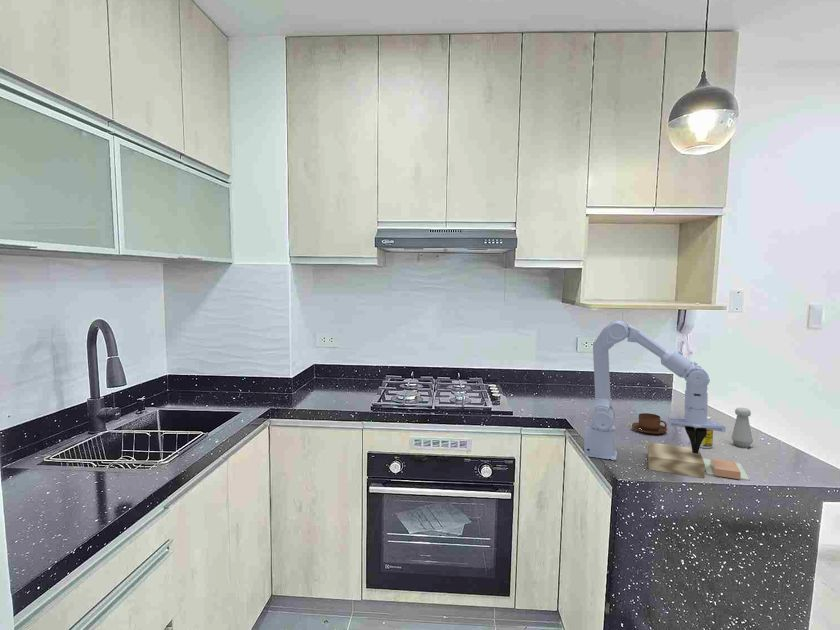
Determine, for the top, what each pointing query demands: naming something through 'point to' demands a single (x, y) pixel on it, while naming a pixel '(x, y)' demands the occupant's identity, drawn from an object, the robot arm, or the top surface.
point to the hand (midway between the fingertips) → (695, 452)
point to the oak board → (675, 460)
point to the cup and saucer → (650, 424)
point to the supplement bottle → (707, 438)
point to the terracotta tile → (725, 468)
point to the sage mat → (710, 472)
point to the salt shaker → (742, 428)
